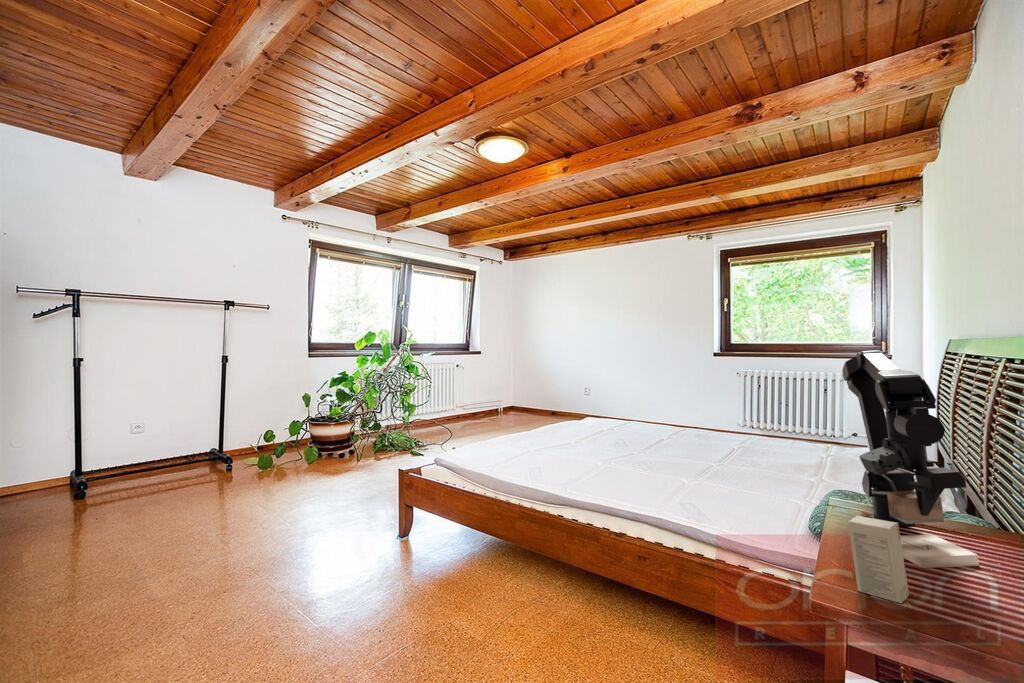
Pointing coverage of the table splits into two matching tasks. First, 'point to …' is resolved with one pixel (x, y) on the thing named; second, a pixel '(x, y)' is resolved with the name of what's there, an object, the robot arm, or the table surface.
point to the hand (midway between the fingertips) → (914, 511)
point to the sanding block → (912, 508)
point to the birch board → (935, 552)
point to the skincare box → (878, 558)
